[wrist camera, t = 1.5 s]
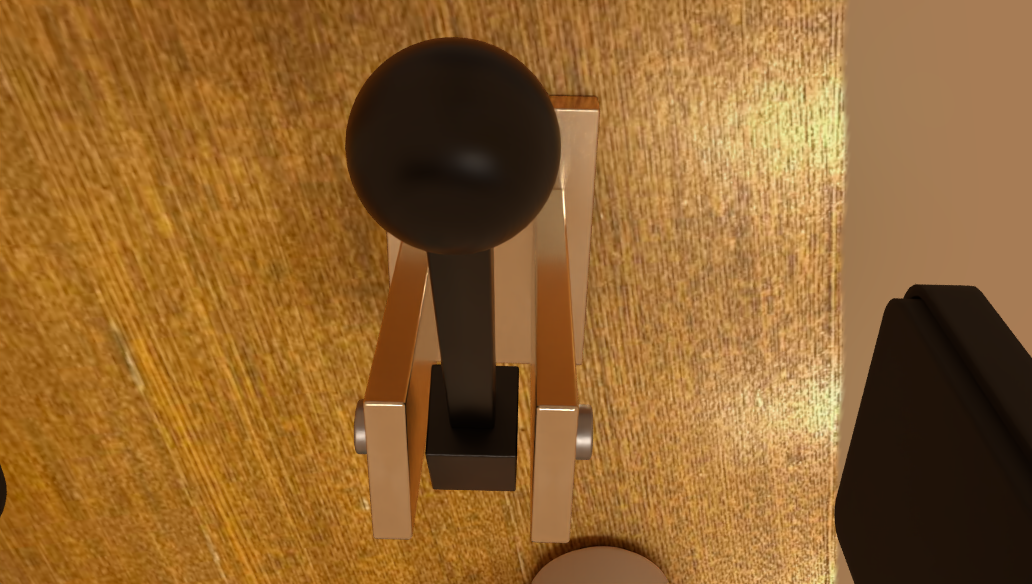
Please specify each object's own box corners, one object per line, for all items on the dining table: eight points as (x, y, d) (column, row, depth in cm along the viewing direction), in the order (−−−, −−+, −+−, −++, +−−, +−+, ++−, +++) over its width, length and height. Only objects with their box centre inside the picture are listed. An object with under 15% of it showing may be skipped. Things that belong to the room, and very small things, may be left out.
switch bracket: (383, 90, 32) (307, 298, 21) (598, 96, 32) (632, 306, 21) (396, 342, 37) (341, 613, 26) (580, 347, 37) (601, 619, 26)
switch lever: (342, -14, 14) (316, 170, 12) (567, -8, 14) (567, 177, 12) (420, 390, 27) (412, 504, 26) (535, 393, 27) (534, 507, 26)
